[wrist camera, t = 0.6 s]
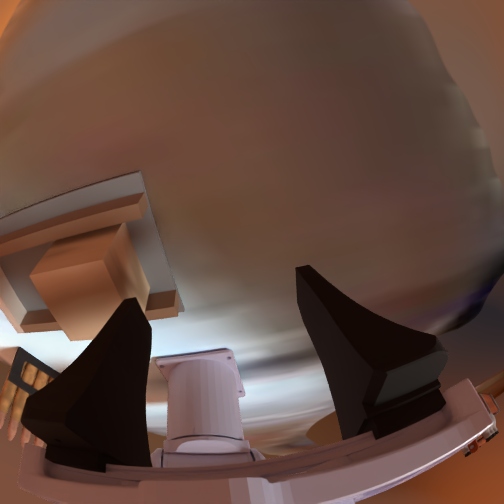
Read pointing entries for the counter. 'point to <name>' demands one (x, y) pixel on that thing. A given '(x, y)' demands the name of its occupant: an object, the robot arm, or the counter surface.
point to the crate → (90, 279)
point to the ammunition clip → (23, 390)
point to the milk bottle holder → (491, 431)
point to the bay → (72, 223)
